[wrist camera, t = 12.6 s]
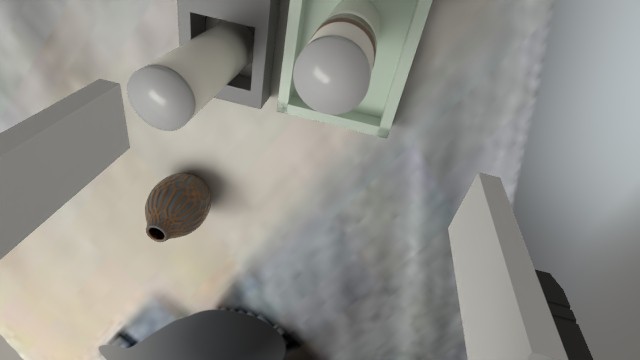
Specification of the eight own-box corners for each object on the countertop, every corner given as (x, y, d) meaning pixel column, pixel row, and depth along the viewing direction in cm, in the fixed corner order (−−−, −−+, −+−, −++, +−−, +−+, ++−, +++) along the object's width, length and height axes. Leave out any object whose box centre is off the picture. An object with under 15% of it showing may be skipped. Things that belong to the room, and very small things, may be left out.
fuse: (212, 15, 35) (122, 61, 24) (257, 25, 34) (189, 77, 23) (212, 61, 37) (131, 122, 26) (254, 71, 37) (191, 137, 26)
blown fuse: (335, -11, 31) (298, 29, 20) (387, 2, 31) (380, 48, 20) (325, 44, 34) (287, 105, 23) (373, 55, 34) (360, 123, 22)
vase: (226, 206, 48) (196, 255, 41) (181, 210, 50) (144, 258, 43) (205, 161, 45) (169, 207, 38) (157, 167, 47) (114, 212, 40)
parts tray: (312, -121, 28) (304, -124, 26) (457, -89, 27) (462, -89, 25) (283, 100, 38) (276, 111, 36) (387, 126, 38) (387, 138, 36)
